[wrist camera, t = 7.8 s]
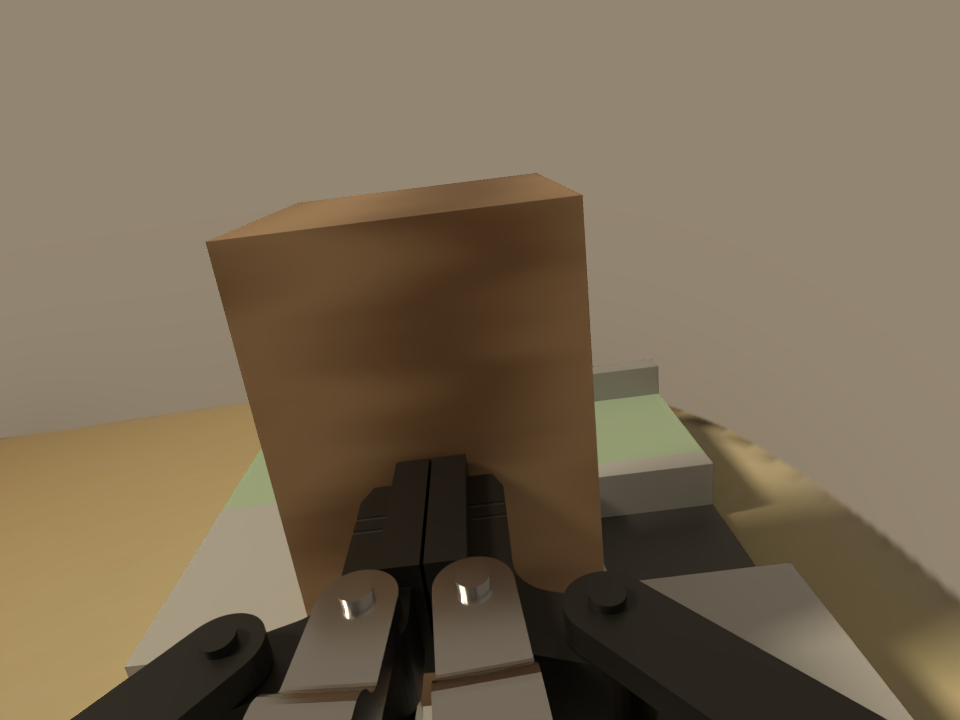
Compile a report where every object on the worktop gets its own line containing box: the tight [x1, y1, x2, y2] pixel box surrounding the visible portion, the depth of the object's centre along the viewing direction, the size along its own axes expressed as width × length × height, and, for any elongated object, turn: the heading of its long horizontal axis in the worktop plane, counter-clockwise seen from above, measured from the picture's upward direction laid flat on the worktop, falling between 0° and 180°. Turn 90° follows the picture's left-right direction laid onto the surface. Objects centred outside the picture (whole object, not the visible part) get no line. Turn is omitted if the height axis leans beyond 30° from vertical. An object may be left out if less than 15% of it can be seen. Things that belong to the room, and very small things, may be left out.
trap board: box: [125, 359, 914, 720], centre depth 18 cm, size 20×31×4 cm, turn 2°
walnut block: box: [206, 173, 604, 706], centre depth 17 cm, size 7×7×12 cm
